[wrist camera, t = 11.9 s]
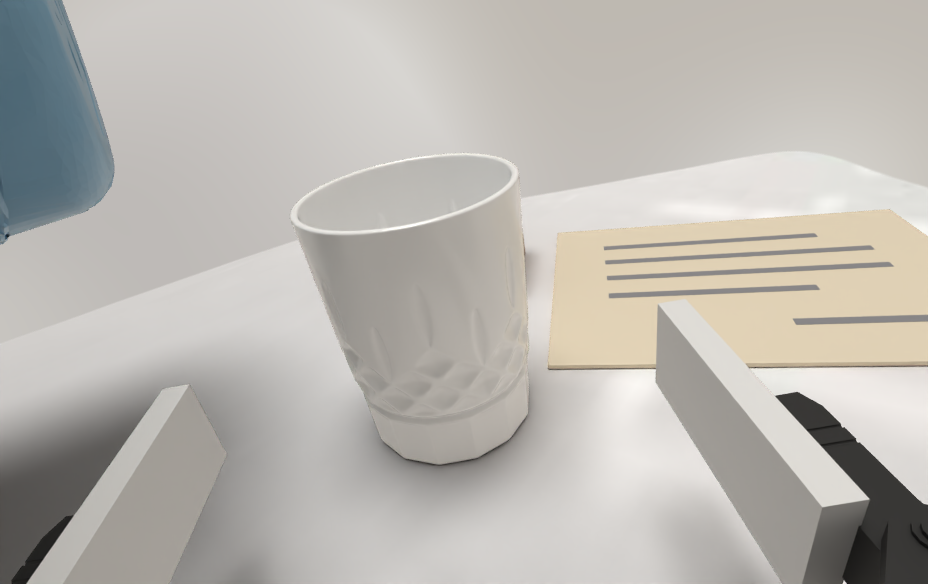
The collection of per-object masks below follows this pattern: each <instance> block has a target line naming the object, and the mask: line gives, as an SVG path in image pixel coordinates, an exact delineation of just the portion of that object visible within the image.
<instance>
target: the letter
mask: <svg viewBox="0 0 928 584" xmlns="http://www.w3.org/2000/svg"><path fill="white" fill-rule="evenodd" d="M682 299H686V300H687V301H688V302H689V303H690V304H691V305H692V307H693V308H694V309H695V310H696V311H697V312H698V313H699V314H700V315H701V316H702V317H703V319H704V320H705V321H706V322H707V323H708V324H709V325H710V326H711V327H712V328H713V329H714V330H715V332H716V333H717V334H718V335H719V336H720V337H721V338H722V339H723V340H724V341H725V342H726V344H727V345H728V346H729V347H730V348H731V349H732V350H733V351H734V352H735V353H736V354H737V355H738V357H739V358H740V359H741V360H742V361H743V362H744V363H745V364H746V365H747V366H748V367H809V366H920V365H928V236H927V235H925V234H924V233H922V232H921V231H919V230H918V229H917V228H915V227H914V226H912V225H911V224H910V223H908V222H907V221H905V220H904V219H903V218H901V217H900V216H898V215H897V214H896V213H894V212H893V211H891V210H890V209H887V210H873V211H859V212H845V213H831V214H817V215H803V216H789V217H775V218H761V219H747V220H733V221H719V222H705V223H691V224H677V225H663V226H649V227H634V228H620V229H606V230H592V231H578V232H564V233H558V237H557V250H556V263H555V276H554V289H553V302H552V316H551V329H550V342H549V355H548V369H589V368H656V348H657V310H658V303H664V302H670V301H676V300H682Z"/></svg>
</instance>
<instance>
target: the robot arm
mask: <svg viewBox="0 0 928 584" xmlns="http://www.w3.org/2000/svg"><path fill="white" fill-rule="evenodd" d="M113 177H114V160H113V156H112V152H111V148H110V144H109V140H108V136H107V133H106V130H105V127H104V123H103V119H102V116H101V114H100V110H99V107H98V104H97V100H96V97H95V94H94V91H93V88H92V85H91V82H90V79H89V76H88V73H87V70H86V67H85V65H84V62H83V59H82V56H81V53H80V50H79V47H78V44H77V41H76V38H75V35H74V32H73V30H72V27H71V24H70V21H69V19H68V16H67V13H66V10H65V7H64V5H63V2H62V0H0V244H4V243H5V242H6V241H7V240H8V238H9V236H12V235H15V234H18V233H21V232H24V231H27V230H31V229H34V228H37V227H40V226H43V225H46V224H49V223H52V222H56V221H59V220H62V219H65V218H68V217H71V216H74V215H77V214H81V213H83V212H85V211H88V210H89V208H91V207H93V206H95V205H96V204H97V203H98V202H100V201H101V200H102V198H103V197H104V196H105V194H106V193H107V191H108V190H109V189H110V187H111V185H112V181H113ZM656 384H657V385H658V387H659V388H660V390H661V391H662V393H663V395H664V396H665V398H666V399H667V401H668V403H669V404H670V406H671V407H672V409H673V411H674V412H675V414H676V415H677V417H678V418H679V420H680V422H681V423H682V425H683V426H684V428H685V430H686V431H687V433H688V434H689V436H690V438H691V439H692V441H693V442H694V444H695V445H696V447H697V449H698V450H699V452H700V453H701V455H702V457H703V458H704V460H705V461H706V463H707V465H708V466H709V468H710V469H711V471H712V472H713V474H714V476H715V477H716V479H717V480H718V482H719V484H720V485H721V487H722V488H723V490H724V491H725V493H726V495H727V496H728V498H729V499H730V501H731V503H732V504H733V506H734V507H735V509H736V511H737V512H738V514H739V515H740V517H741V518H742V520H743V522H744V523H745V525H746V526H747V528H748V530H749V531H750V533H751V534H752V536H753V538H754V539H755V541H756V542H757V544H758V545H759V547H760V549H761V550H762V552H763V553H764V555H765V557H766V558H767V560H768V561H769V563H770V564H771V566H772V568H773V569H774V571H775V572H776V574H777V576H778V577H779V579H780V580H781V582H782V584H842V583H843V580H845V582H846V583H847V584H928V505H926V504H923V503H922V502H921V501H919V500H918V499H917V498H916V497H915V496H914V495H913V494H912V493H911V492H910V491H909V490H908V489H907V488H906V487H905V486H904V485H903V484H902V483H901V482H900V481H899V480H898V479H897V478H895V477H894V476H893V475H892V474H891V473H890V472H889V471H888V470H887V469H886V468H885V467H884V466H883V465H882V464H881V463H880V462H879V461H878V460H877V459H876V458H875V457H874V456H873V455H872V454H871V453H870V452H869V451H868V450H867V449H866V448H865V447H864V446H863V445H862V444H861V443H860V442H859V443H857V441H856V438H855V437H854V436H853V435H852V434H851V433H850V432H849V431H848V430H847V429H846V428H845V427H844V428H842V427H841V424H840V423H839V422H838V421H837V420H836V419H835V418H834V417H833V416H832V415H831V414H830V413H829V412H828V411H827V410H826V409H825V408H824V407H823V406H822V405H820V404H818V403H816V402H815V401H813V400H811V399H809V398H807V397H806V396H804V395H802V394H800V393H798V392H795V393H789V394H783V395H777V396H774V395H773V394H772V392H771V391H770V390H769V389H768V388H767V387H766V386H765V385H764V384H763V383H762V382H761V380H760V379H759V378H758V377H757V376H756V375H755V374H754V373H753V372H752V371H751V370H750V369H749V367H748V366H747V365H746V364H745V363H744V362H743V361H742V360H741V359H740V358H739V357H738V355H737V354H736V353H735V352H734V351H733V350H732V349H731V348H730V347H729V346H728V345H727V344H726V342H725V341H724V340H723V339H722V338H721V337H720V336H719V335H718V334H717V333H716V332H715V330H714V329H713V328H712V327H711V326H710V325H709V324H708V323H707V322H706V321H705V320H704V319H703V317H702V316H701V315H700V314H699V313H698V312H697V311H696V310H695V309H694V308H693V307H692V305H691V304H690V303H689V302H688V301H687V300H686V299H682V300H676V301H670V302H664V303H658V310H657V348H656ZM226 456H227V454H226V452H225V450H224V448H223V446H222V444H221V442H220V440H219V438H218V437H217V435H216V433H215V431H214V429H213V427H212V425H211V423H210V421H209V420H208V418H207V416H206V414H205V412H204V410H203V408H202V406H201V404H200V403H199V401H198V399H197V397H196V395H195V393H194V391H193V389H192V387H191V386H190V384H187V385H181V386H176V387H170V388H164V389H162V391H161V392H160V393H159V395H158V396H157V398H156V399H155V401H154V402H153V403H152V405H151V406H150V408H149V409H148V411H147V412H146V414H145V415H144V416H143V418H142V419H141V421H140V422H139V424H138V425H137V426H136V428H135V429H134V431H133V432H132V434H131V435H130V436H129V438H128V439H127V441H126V442H125V444H124V445H123V446H122V448H121V449H120V451H119V452H118V454H117V455H116V456H115V458H114V459H113V461H112V462H111V464H110V465H109V466H108V468H107V469H106V471H105V472H104V474H103V475H102V476H101V478H100V479H99V481H98V482H97V484H96V485H95V486H94V488H93V489H92V491H91V492H90V494H89V495H88V496H87V498H86V499H85V501H84V502H83V504H82V505H81V506H80V508H79V509H78V511H77V512H76V514H75V515H73V516H67V517H65V518H64V519H63V520H62V521H61V522H60V523H58V524H57V525H56V526H55V527H54V528H53V529H52V530H51V531H50V532H49V533H48V534H46V535H45V536H44V537H43V538H42V539H41V541H40V542H39V544H38V545H37V546H36V548H35V549H34V550H33V552H32V553H31V555H30V556H29V557H28V559H27V560H26V561H25V562H26V565H25V566H22V567H21V568H20V570H19V571H18V572H17V574H16V575H15V576H14V578H13V579H12V584H169V583H170V581H171V579H172V577H173V575H174V572H175V570H176V568H177V566H178V563H179V561H180V559H181V557H182V554H183V552H184V550H185V548H186V546H187V543H188V541H189V539H190V537H191V534H192V532H193V530H194V528H195V525H196V523H197V521H198V519H199V517H200V514H201V512H202V510H203V508H204V505H205V503H206V501H207V499H208V496H209V494H210V492H211V490H212V488H213V485H214V483H215V481H216V479H217V476H218V474H219V472H220V470H221V467H222V465H223V463H224V461H225V459H226Z"/></svg>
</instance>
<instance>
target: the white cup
mask: <svg viewBox="0 0 928 584" xmlns="http://www.w3.org/2000/svg"><path fill="white" fill-rule="evenodd" d="M290 220H291V223H292V225H293V228H294V230H295V233H296V235H297V238H298V240H299V243H300V245H301V248H302V250H303V253H304V255H305V258H306V260H307V263H308V265H309V268H310V270H311V273H312V276H313V278H314V281H315V283H316V286H317V288H318V291H319V293H320V296H321V298H322V301H323V304H324V306H325V309H326V311H327V314H328V316H329V319H330V322H331V324H332V327H333V329H334V332H335V334H336V337H337V339H338V342H339V344H340V347H341V349H342V351H343V353H344V355H345V357H346V360H347V362H348V365H349V367H350V369H351V372H352V374H353V376H354V379H355V381H356V382H357V383H358V385H359V386H360V388H361V389H362V391H363V393H364V396H365V399H366V401H367V403H368V406H369V409H370V411H371V414H372V417H373V419H374V422H375V425H376V427H377V430H378V433H379V435H380V438H381V440H382V441H383V442H385V443H386V444H387V445H388V446H390V447H391V448H392V449H393V450H395V451H396V452H397V453H398V454H400V455H401V456H402V457H403V458H406V459H411V460H416V461H422V462H427V463H432V464H437V465H441V464H446V463H452V462H458V461H463V460H469V459H474V458H478V457H480V456H482V455H483V454H485V453H487V452H489V451H490V450H492V449H494V448H496V447H497V446H499V445H501V444H502V443H504V442H506V441H508V440H509V439H510V438H511V437H512V435H513V434H514V433H515V431H516V430H517V428H518V427H519V426H520V424H521V423H522V421H523V420H524V419H525V417H526V416H527V414H528V402H529V379H528V366H527V354H528V351H529V337H528V328H527V327H528V306H527V289H526V274H525V259H524V244H523V229H522V214H521V197H520V181H519V171H518V168H517V167H516V165H515V164H513V163H512V162H510V161H509V160H506V159H504V158H501V157H497V156H493V155H486V154H472V153H454V154H438V155H429V156H421V157H415V158H409V159H403V160H398V161H393V162H389V163H384V164H380V165H377V166H373V167H369V168H366V169H363V170H359V171H356V172H353V173H350V174H347V175H345V176H342V177H339V178H337V179H335V180H332V181H330V182H328V183H326V184H324V185H321V186H320V187H318V188H316V189H314V190H313V191H311V192H309V193H308V194H306V195H305V196H304V197H302V198H301V199H300V200H299V201H298V202H297V203H296V204H295V205H294V206H293V208H292V209H291V212H290Z"/></svg>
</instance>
